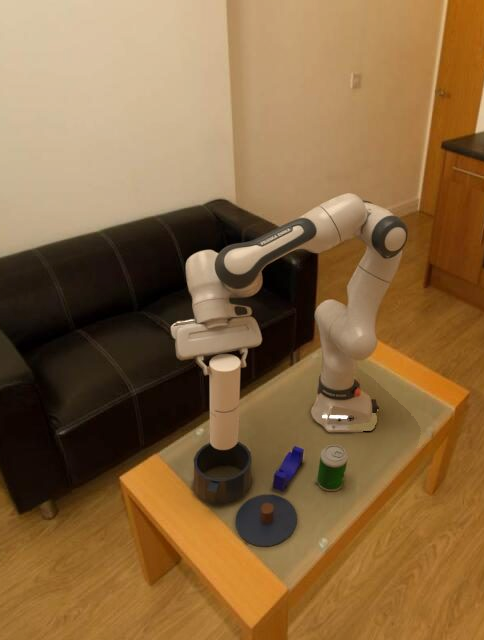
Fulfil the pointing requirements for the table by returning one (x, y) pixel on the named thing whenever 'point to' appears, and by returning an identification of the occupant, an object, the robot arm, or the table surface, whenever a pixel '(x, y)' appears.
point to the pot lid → (266, 520)
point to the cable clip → (288, 468)
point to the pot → (227, 487)
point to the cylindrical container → (224, 401)
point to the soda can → (332, 468)
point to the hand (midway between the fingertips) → (225, 370)
